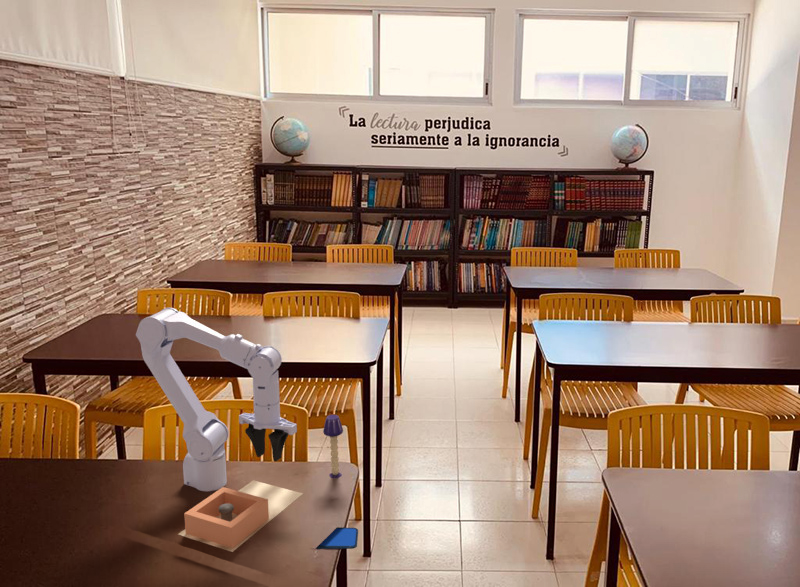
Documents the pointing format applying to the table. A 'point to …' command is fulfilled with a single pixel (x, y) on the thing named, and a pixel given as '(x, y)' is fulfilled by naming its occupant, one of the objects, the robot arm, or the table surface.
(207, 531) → the orange square frame
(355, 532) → the smartphone
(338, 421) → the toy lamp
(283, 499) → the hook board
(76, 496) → the table surface
